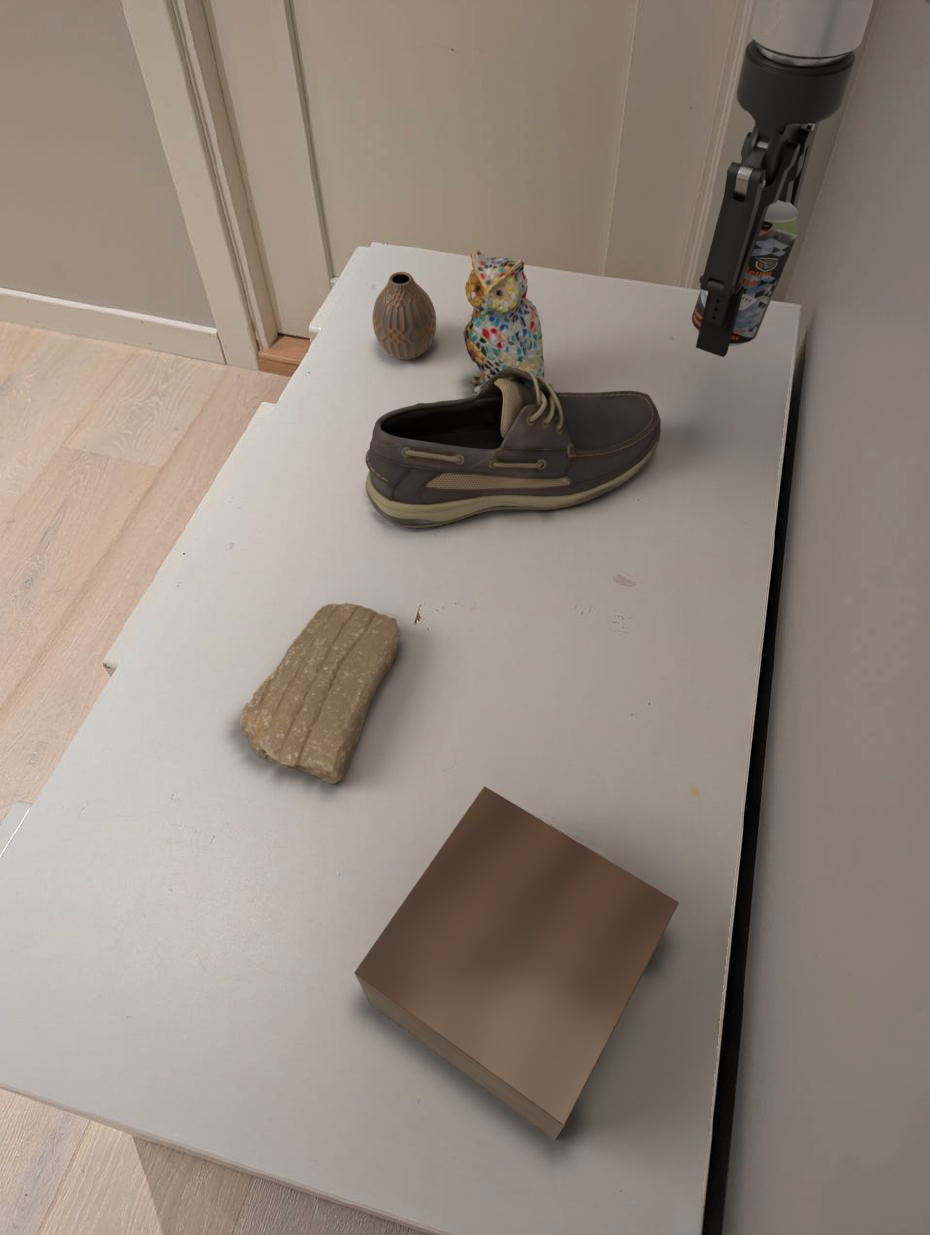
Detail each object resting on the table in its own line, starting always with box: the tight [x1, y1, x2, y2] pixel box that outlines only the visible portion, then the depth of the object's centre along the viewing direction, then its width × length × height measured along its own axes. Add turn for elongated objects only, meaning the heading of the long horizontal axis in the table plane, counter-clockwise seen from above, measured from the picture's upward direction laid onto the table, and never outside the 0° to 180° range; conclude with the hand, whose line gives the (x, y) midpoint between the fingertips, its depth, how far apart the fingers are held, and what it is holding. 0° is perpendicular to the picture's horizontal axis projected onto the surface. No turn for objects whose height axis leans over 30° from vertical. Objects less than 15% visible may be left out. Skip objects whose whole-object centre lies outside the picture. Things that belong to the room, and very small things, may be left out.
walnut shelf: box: [354, 785, 680, 1141], centre depth 54 cm, size 14×14×8 cm
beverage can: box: [691, 200, 799, 347], centre depth 74 cm, size 6×7×12 cm
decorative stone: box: [239, 602, 401, 785], centre depth 69 cm, size 10×16×4 cm, turn 162°
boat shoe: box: [365, 368, 662, 529], centre depth 80 cm, size 11×29×11 cm, turn 110°
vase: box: [372, 271, 437, 361], centre depth 93 cm, size 7×7×9 cm
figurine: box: [463, 249, 545, 396], centre depth 86 cm, size 9×9×15 cm
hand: (729, 327), depth 79 cm, fingers closed on beverage can, 7 cm apart
